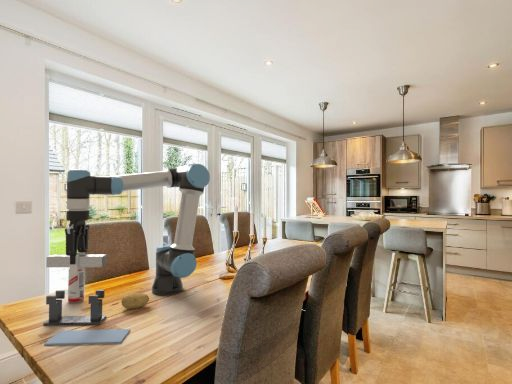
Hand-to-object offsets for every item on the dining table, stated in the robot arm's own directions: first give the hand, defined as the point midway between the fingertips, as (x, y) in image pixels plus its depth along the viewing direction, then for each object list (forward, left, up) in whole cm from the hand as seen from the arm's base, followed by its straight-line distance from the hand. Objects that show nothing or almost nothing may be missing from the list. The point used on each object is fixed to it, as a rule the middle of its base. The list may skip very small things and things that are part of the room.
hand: (77, 270), depth 112 cm
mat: (-11, +13, -20) cm, 26 cm away
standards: (0, 0, -20) cm, 20 cm away
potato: (-18, -13, -20) cm, 30 cm away
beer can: (+11, -22, -20) cm, 32 cm away
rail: (0, 0, +2) cm, 2 cm away
